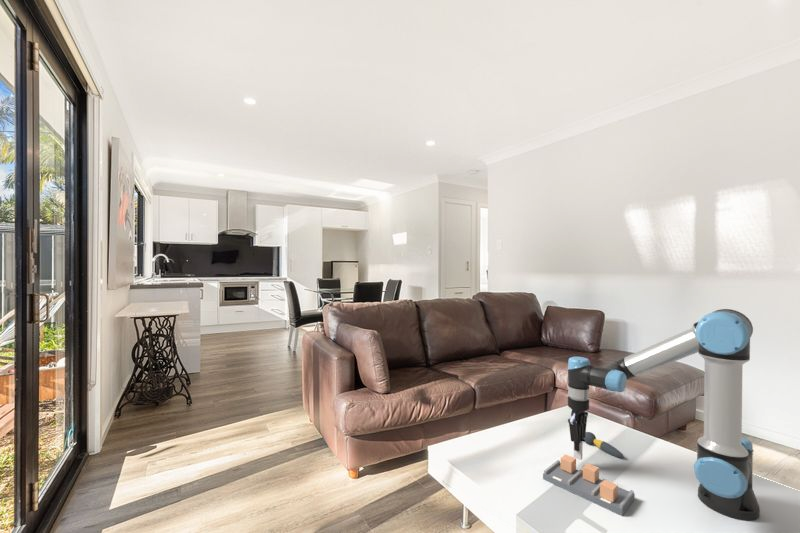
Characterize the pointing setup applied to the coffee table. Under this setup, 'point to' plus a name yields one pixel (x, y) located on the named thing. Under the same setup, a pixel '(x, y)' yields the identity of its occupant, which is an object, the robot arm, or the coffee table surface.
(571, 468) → the tan cube
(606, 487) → the tab
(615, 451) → the paintbrush
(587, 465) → the peach cube
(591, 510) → the coffee table surface
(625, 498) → the switch bank
